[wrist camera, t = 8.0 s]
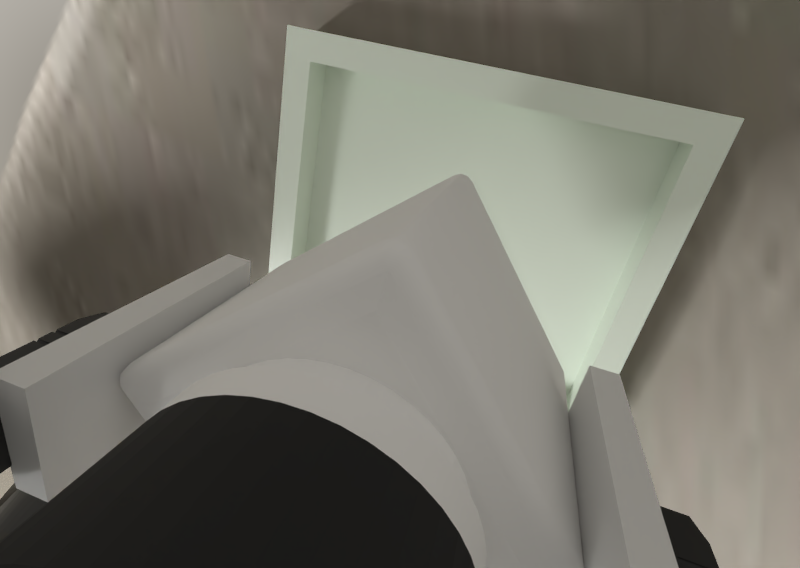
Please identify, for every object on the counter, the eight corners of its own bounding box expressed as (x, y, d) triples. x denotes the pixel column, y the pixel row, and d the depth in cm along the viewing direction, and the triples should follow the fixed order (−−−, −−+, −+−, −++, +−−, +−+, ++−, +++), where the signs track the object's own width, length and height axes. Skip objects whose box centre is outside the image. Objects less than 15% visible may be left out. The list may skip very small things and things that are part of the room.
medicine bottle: (281, 263, 15) (-288, 631, 5) (468, 167, 13) (87, 545, 2) (380, 427, 17) (116, 985, 6) (567, 374, 14) (667, 1236, 3)
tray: (284, 322, 28) (263, 341, 26) (313, 32, 21) (287, 24, 19) (578, 417, 25) (582, 449, 23) (718, 116, 18) (744, 118, 16)
